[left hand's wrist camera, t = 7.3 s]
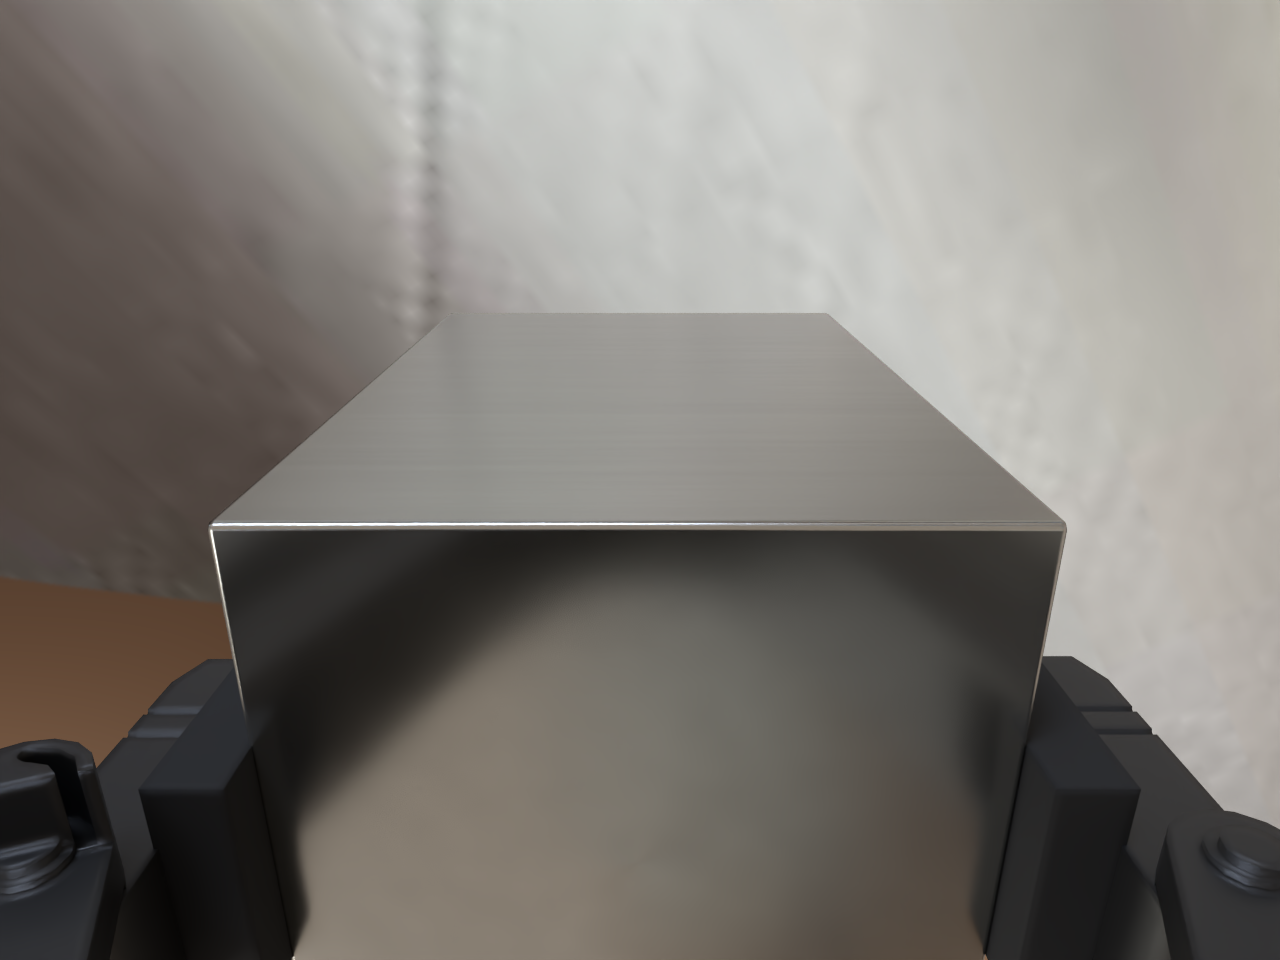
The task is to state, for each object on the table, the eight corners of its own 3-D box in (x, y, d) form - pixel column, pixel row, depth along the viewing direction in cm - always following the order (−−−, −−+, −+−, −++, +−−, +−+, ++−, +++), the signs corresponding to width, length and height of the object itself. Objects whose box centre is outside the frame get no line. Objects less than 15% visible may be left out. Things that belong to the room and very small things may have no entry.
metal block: (803, 643, 19) (957, 1112, 10) (474, 643, 19) (318, 1112, 10) (829, 312, 17) (1072, 522, 7) (448, 312, 17) (202, 523, 7)
